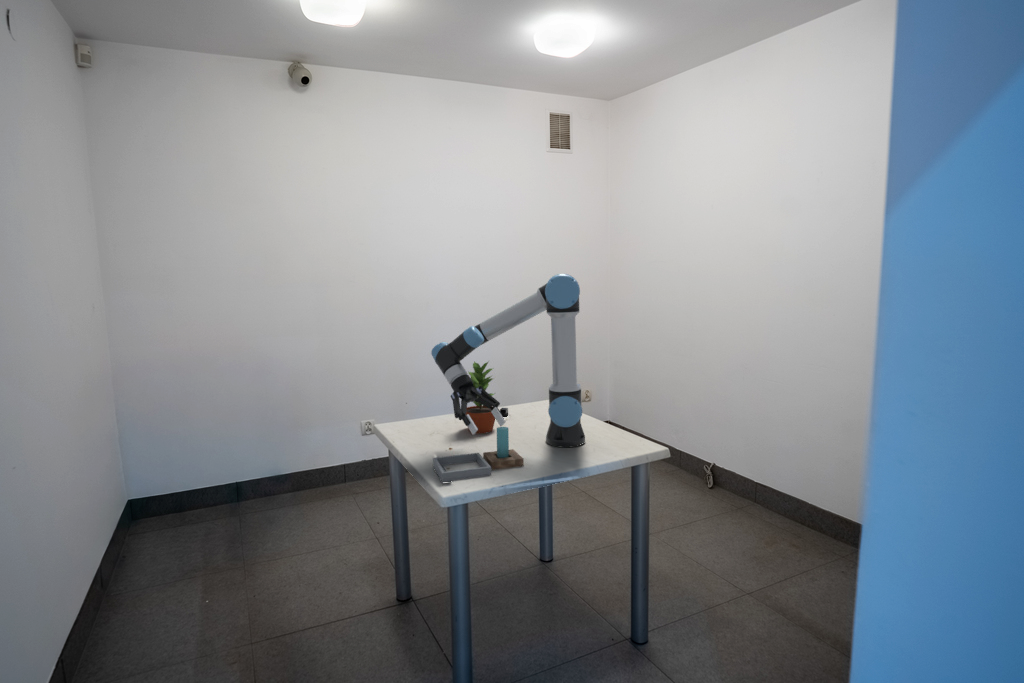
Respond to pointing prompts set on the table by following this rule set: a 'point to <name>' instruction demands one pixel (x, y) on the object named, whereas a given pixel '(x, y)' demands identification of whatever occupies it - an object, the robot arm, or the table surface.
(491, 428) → the potted plant
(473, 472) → the tray
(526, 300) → the robot arm
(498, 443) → the ball
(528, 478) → the table surface
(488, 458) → the hole block
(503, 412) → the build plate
